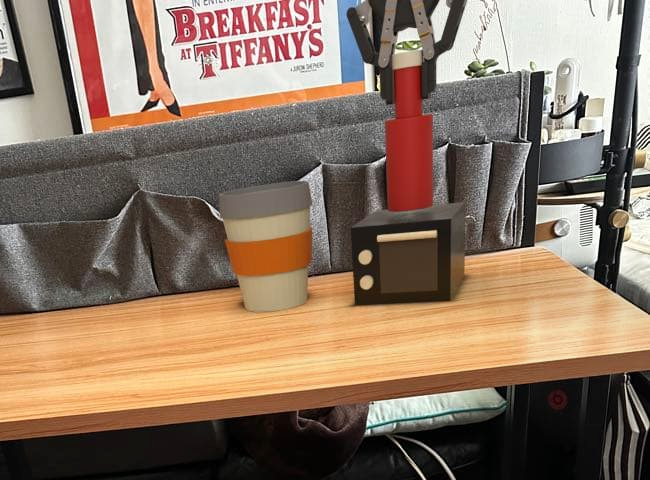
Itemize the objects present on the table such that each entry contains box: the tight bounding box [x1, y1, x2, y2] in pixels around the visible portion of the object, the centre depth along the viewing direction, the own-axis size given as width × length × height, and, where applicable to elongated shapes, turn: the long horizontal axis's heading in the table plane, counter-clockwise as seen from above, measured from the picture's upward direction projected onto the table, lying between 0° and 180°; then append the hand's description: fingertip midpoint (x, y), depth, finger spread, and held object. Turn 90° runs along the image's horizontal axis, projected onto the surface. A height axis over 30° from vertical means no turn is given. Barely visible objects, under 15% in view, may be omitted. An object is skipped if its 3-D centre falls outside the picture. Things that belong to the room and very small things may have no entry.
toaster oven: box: [350, 201, 467, 307], centre depth 94 cm, size 12×15×10 cm
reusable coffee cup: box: [218, 180, 313, 313], centre depth 99 cm, size 12×13×15 cm
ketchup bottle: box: [384, 49, 434, 212], centre depth 87 cm, size 6×6×16 cm
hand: (408, 100), depth 85 cm, fingers closed on ketchup bottle, 3 cm apart
